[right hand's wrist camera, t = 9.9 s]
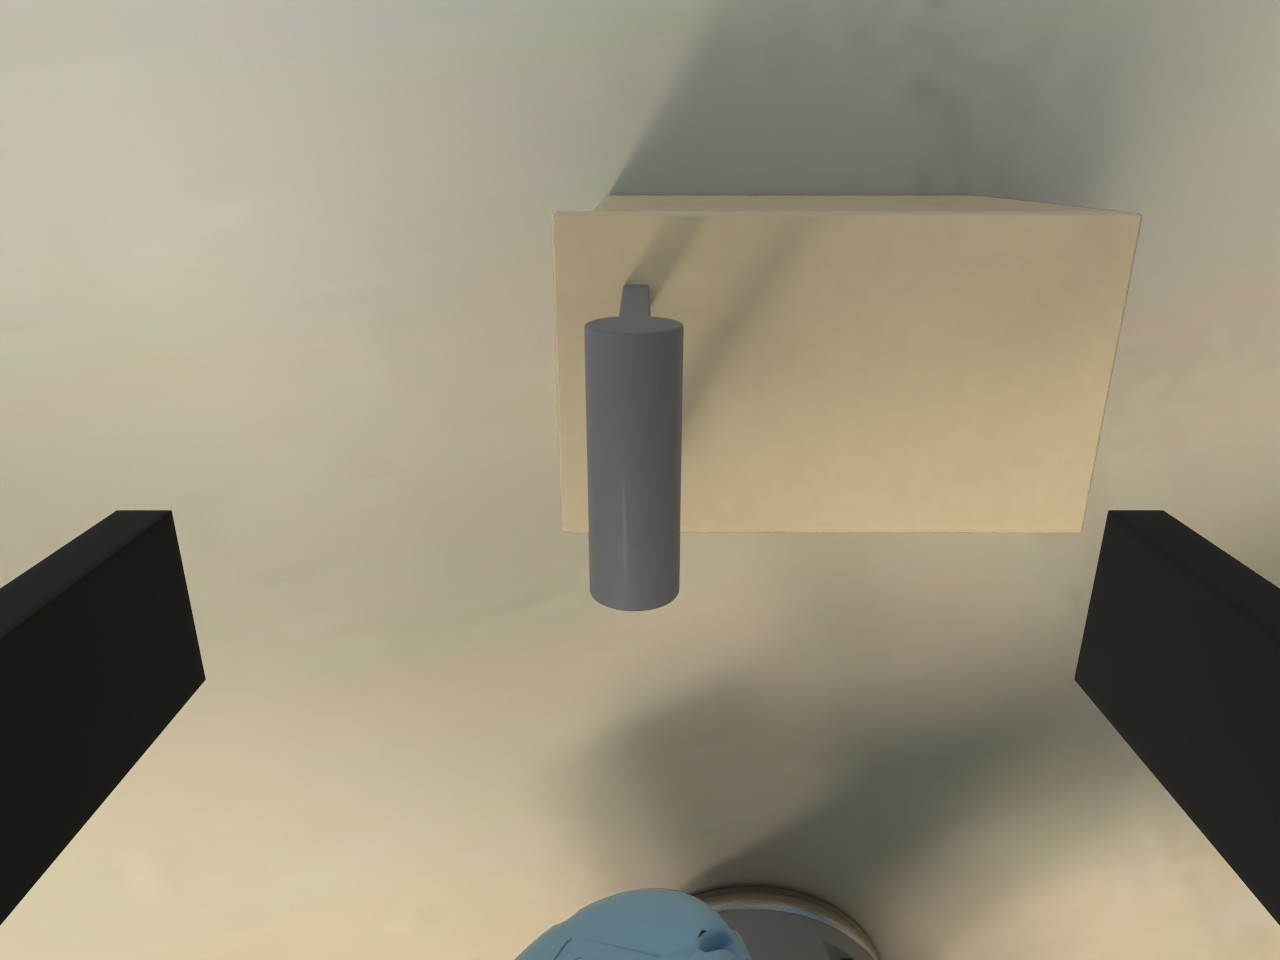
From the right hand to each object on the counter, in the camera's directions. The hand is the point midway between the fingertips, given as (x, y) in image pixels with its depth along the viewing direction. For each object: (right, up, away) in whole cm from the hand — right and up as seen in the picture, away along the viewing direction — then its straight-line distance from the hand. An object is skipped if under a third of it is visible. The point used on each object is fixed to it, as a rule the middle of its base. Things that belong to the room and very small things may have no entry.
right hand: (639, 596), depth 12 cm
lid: (+5, +5, +13) cm, 15 cm away
